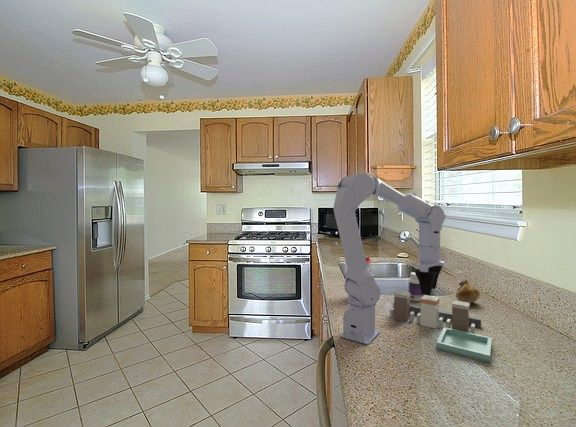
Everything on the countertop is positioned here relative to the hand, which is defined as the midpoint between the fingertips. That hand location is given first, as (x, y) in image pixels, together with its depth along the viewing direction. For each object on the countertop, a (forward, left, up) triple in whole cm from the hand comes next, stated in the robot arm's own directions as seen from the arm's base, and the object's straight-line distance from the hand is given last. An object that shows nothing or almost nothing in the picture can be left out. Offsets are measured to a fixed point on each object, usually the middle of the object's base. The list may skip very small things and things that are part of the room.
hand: (428, 291), depth 89 cm
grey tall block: (+1, 0, -10) cm, 10 cm away
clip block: (+4, 0, -10) cm, 11 cm away
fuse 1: (+1, +8, -10) cm, 13 cm away
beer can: (+13, +26, -10) cm, 30 cm away
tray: (-9, -10, -10) cm, 17 cm away
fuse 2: (+1, -8, -10) cm, 13 cm away
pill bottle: (+23, +9, -10) cm, 26 cm away
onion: (+29, -7, -10) cm, 31 cm away
